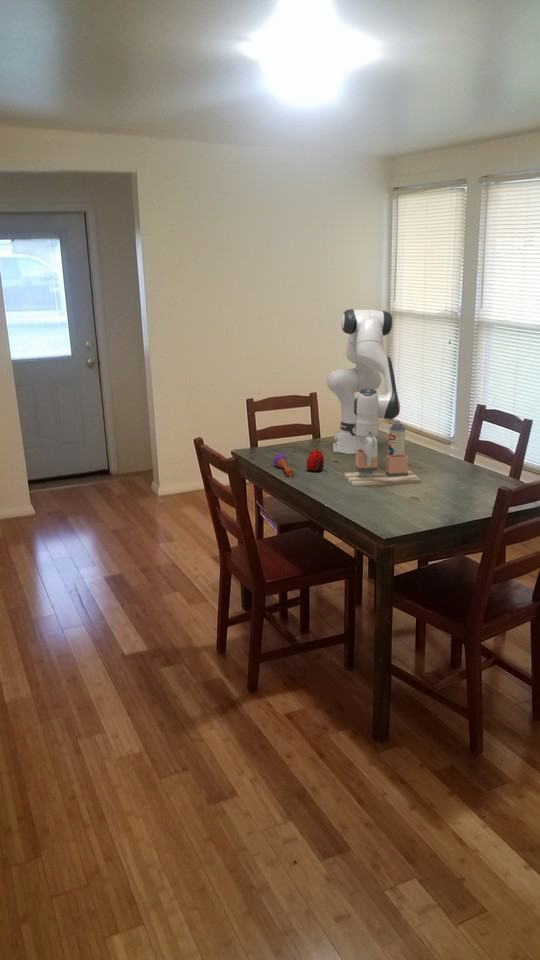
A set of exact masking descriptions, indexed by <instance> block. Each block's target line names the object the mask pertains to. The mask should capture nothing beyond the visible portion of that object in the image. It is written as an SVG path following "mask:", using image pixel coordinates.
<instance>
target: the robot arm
mask: <svg viewBox="0 0 540 960" xmlns="http://www.w3.org/2000/svg"><path fill="white" fill-rule="evenodd" d="M393 325H394V321H393V316H392V314H391V313H390V312H389V311H385V310H376V309H371V308H368V309H353V308H350V309H347V310H345V311H344V312H343V313H342V316H341V319H340V327H341V330H342V331H343V333H345V334H347V335H348V338H347V339H348V340H347V344H346V351H345V356H346V358H347V360H348V361H349V362H350V363H352V364H354V365H355V367H354V368H340V369H335V370H332V371H330V372H329V374H328V376H327V380H326V383H327V387H328V389H329V390H330V392H331V393H333V394H335V396H336V397H337V398H338V401H339V403H340V407H341V422H340V423H339V424H340V429H339V432H338V433H337V435H334V441H335V442H333V443H332V448H333V449H332V450H333V451H332V452H333V453H342V454H347V455H356V450H362V452H364V454H365V455H366V457H367V460H366V465H367V466H370V465H371V461H372V458H376V457H377V455H378V453H379V452H378V451H379V450H378V439H377V438H376V436H378V435H379V419H385V420H393V419H396V418H397V417H398V416H399V415H400V411H401V402H400V399H399V396H398V391H397V384H396V378H395V371H394V367H393V366H394V365H393V362H392V359H391V357H389V356H388V355H387V354H386V353H385V350H384V336H387V335H389V334H390V333H391V331H392V329H393ZM381 374H382V375H383V377H384V382H385V388H386V394H379V393H378V391H377V389H379V387H380V385H381V384H382V375H381ZM355 393H358V394H357V396H356V395H355ZM378 456H379V455H378Z"/></svg>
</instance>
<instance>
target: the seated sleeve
mask: <svg viewBox="0 0 540 960" xmlns="http://www.w3.org/2000/svg"><path fill="white" fill-rule="evenodd" d="M385 457H386V458H385V470H386V475H387V476H388V477H397V476H408V469H409V459H410V458H409V456H408V455H407V454H406V453H404V454H400V455H389V454H386V455H385Z"/></svg>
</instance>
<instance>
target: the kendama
mask: <svg viewBox="0 0 540 960" xmlns="http://www.w3.org/2000/svg"><path fill="white" fill-rule="evenodd" d="M287 463H288V458H287V456H286V455H285V454H283V453H278V454H275V456H274V457H273V464H274V466H276V467H277V468H283V469H284V470H283V471H284V472H285V474H286V477H288V476H293V477H294V476H295V471H294V470H292V468H290V467H289V466H287Z"/></svg>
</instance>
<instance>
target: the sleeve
mask: <svg viewBox="0 0 540 960" xmlns="http://www.w3.org/2000/svg"><path fill="white" fill-rule="evenodd" d="M378 457H379V455H377V457H376V458H372V461H371V465H370V466H367V465H366V460H367V457H366V455H365V454H364V452H362V450H356V454H355V458H354V459H355V463H354V464H355V467H354V469H355V470H356V472H363V471H378V466H379V465H378V460H379V459H378Z"/></svg>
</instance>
